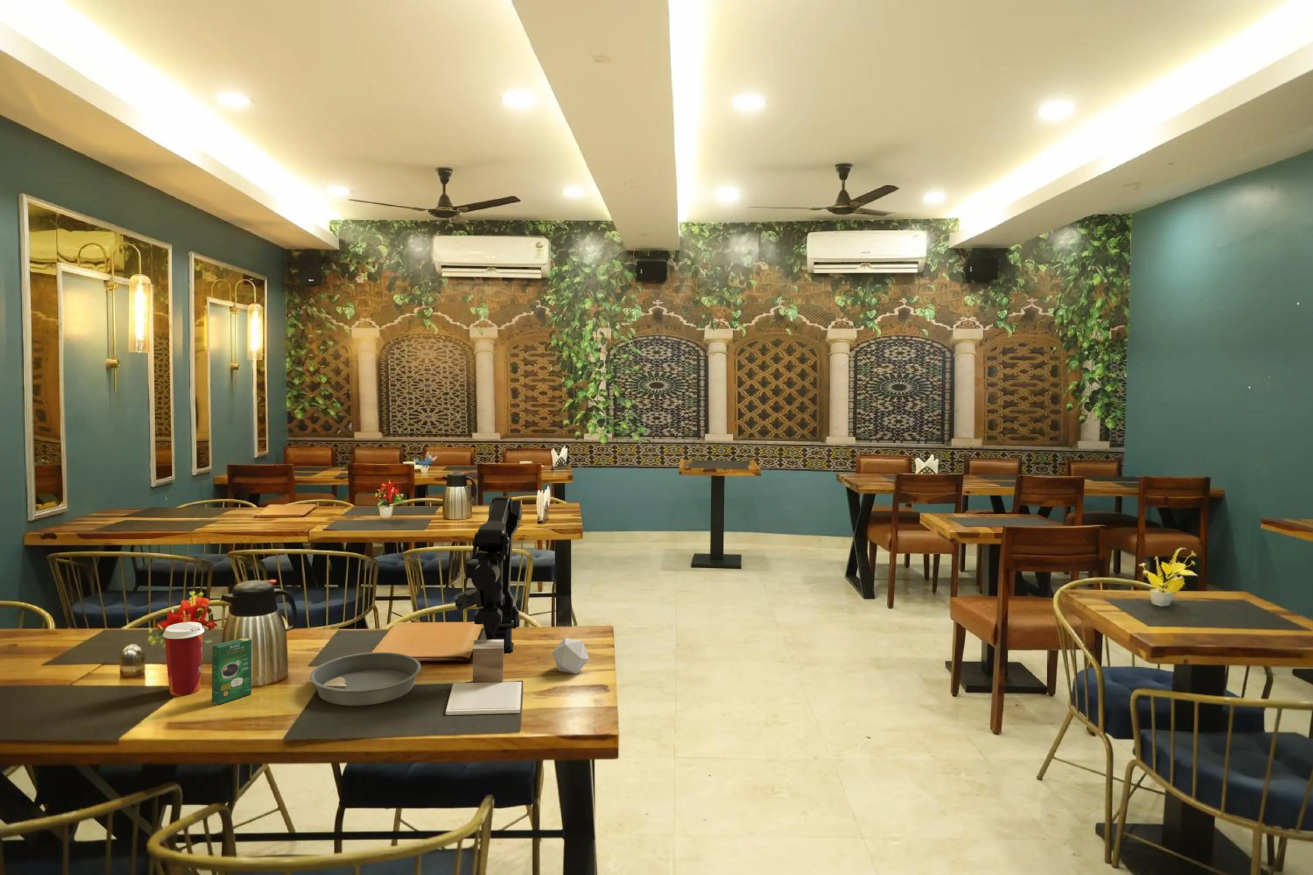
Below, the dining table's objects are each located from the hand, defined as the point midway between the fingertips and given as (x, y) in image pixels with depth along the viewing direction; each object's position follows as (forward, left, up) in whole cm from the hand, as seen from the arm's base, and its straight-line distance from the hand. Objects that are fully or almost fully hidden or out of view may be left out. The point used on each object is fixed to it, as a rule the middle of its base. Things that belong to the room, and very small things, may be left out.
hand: (489, 641), depth 205 cm
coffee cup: (+5, -68, -9) cm, 69 cm away
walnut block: (+4, 0, -9) cm, 10 cm away
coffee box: (+10, -56, -9) cm, 58 cm away
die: (-3, +20, -9) cm, 22 cm away
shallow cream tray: (+14, 0, -9) cm, 17 cm away
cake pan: (+5, -28, -9) cm, 30 cm away
